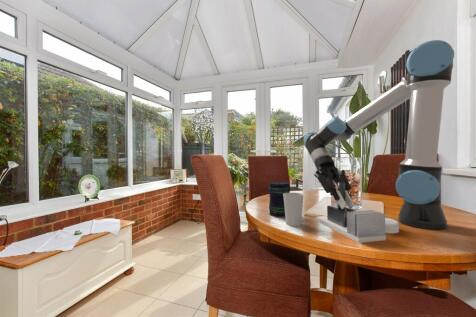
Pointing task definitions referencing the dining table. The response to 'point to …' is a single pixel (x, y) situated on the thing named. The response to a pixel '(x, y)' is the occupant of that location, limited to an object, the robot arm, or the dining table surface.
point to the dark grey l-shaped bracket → (342, 191)
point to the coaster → (391, 226)
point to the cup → (293, 208)
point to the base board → (344, 231)
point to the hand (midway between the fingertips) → (348, 206)
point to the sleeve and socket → (358, 221)
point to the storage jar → (277, 198)
